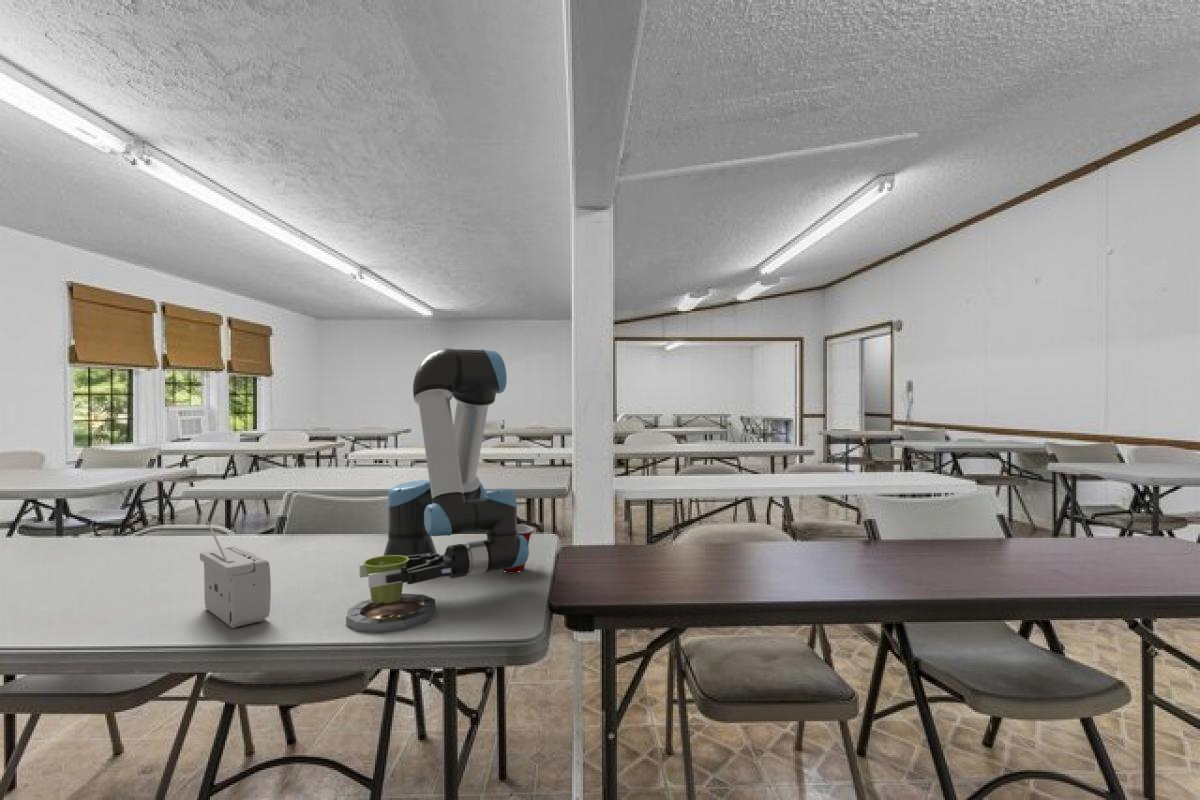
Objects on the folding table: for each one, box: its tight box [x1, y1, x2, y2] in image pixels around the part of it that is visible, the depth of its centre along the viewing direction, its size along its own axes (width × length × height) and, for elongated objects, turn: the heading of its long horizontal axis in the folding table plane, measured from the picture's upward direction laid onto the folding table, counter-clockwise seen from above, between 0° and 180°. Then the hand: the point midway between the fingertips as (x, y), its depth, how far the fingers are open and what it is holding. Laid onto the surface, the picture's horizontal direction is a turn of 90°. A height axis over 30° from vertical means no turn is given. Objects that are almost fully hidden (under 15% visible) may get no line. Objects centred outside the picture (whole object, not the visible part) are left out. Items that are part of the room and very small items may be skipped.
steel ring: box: [345, 593, 437, 634], centre depth 127 cm, size 18×18×2 cm
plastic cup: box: [502, 523, 534, 573], centre depth 160 cm, size 11×11×12 cm
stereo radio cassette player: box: [199, 520, 272, 629], centre depth 129 cm, size 21×8×20 cm, turn 48°
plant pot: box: [363, 555, 409, 603], centre depth 129 cm, size 9×9×9 cm
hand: (364, 576), depth 126 cm, fingers closed on plant pot, 8 cm apart
